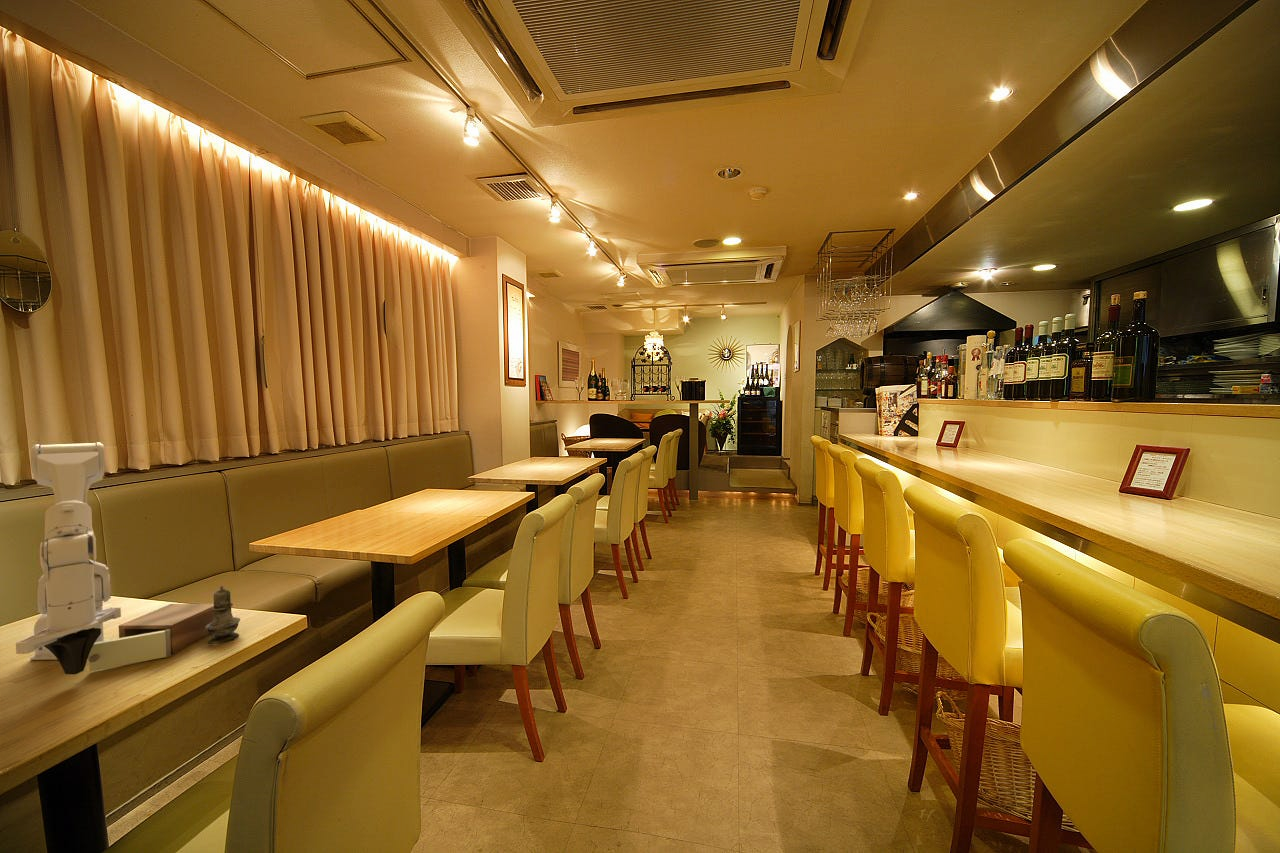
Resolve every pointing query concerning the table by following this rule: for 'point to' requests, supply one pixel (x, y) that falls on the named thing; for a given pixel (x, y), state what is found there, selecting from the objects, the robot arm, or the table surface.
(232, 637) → the dark tiered stone ornament
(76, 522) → the robot arm
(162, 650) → the door
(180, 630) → the cabinet
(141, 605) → the table surface
